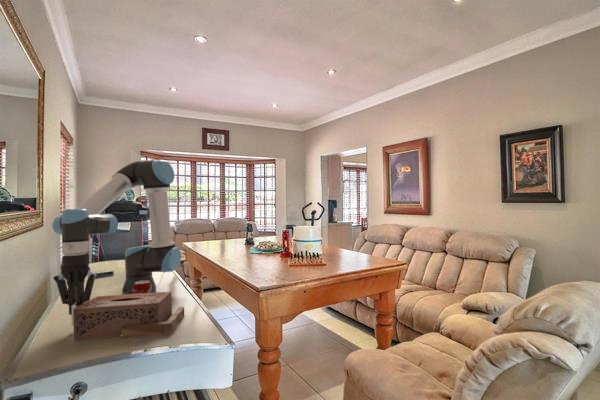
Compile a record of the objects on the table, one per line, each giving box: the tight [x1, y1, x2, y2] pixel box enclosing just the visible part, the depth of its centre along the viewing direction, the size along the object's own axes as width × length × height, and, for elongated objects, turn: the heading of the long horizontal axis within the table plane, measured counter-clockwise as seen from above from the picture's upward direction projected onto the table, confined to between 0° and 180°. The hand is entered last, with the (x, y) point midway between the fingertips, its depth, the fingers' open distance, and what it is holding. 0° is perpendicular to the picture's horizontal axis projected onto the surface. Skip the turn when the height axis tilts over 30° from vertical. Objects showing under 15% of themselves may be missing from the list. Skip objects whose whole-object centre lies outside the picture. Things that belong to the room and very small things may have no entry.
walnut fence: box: [121, 306, 185, 339], centre depth 107 cm, size 17×15×4 cm
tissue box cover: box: [73, 291, 173, 341], centre depth 106 cm, size 26×14×10 cm, turn 98°
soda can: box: [133, 280, 152, 294], centre depth 123 cm, size 7×7×12 cm
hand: (76, 323), depth 105 cm, fingers closed
